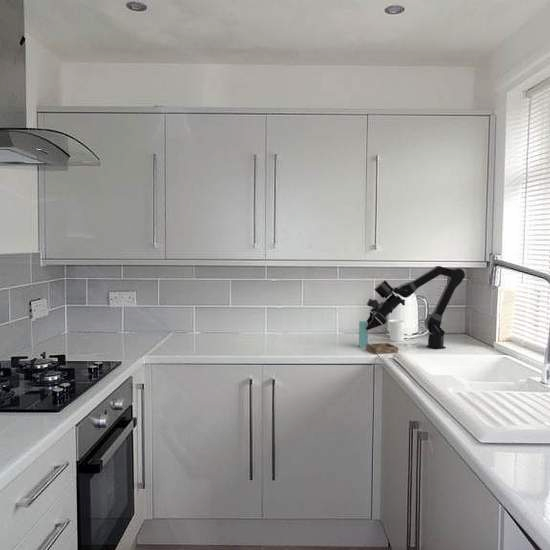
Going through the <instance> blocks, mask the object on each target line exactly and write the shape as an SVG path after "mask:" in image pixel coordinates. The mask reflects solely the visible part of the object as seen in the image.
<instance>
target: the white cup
mask: <svg viewBox="0 0 550 550" xmlns="http://www.w3.org/2000/svg"><path fill="white" fill-rule="evenodd" d="M405 326H406V321H405V320H403V319H390V320H388V330H389V331H388V332H389V341H391V342H395V343H396V342H398V343H401V342H403V341H404V338H405V330H406V328H405Z"/></svg>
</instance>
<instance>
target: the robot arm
mask: <svg viewBox="0 0 550 550" xmlns="http://www.w3.org/2000/svg"><path fill="white" fill-rule="evenodd" d="M439 276H446V277H447V280H446V285H445V287H444V289H443V291H442V293H441V295H440V297H439V300H438V301H437V303H436V305H435V308H434V310H433V311H432V312H431V313H427V314H426V318H425V319H424V320H423V321H424V328H425V329H426V330H427V331H428V332H429V334H428V337H427V338H428V339H427V341H428V342H427V345H426V347H427V348H430V349H433V350H439V349H446V348H447V347H446V346H444V341H445V340H444V337H445V333H446V331H444V330H443V328H442V327H441V325H442V320H443V314H444V313H445V311H446V310H447V308H448V304H449V303H450V300H451V299H452V296H453V295H454V292H455V291H456V288H457V287H459V285H460V284H461V283H462V281H463V280H464V278H465V277H466V274H465V271H464V269H462V268H457V267H453V268H448V267H443V266H440V265H435V267H433V268H431V269H430V270H428V271H427V272H425V273H423V274H422V275H420V276H418V277H417V278H415V279H413V280H410V281H408V282H405V283H403V284H400V285H399V286H397V287H392V286H391V285H390V284H389V283H388V282H387V280H383V281H382V282H380V283H379V284H377V285H376V287H375V288H374V291H375V292H376V293H377V295H379V296H380V297H381V298H382V299H384V298H385V300H384V301H381V302H379V300H376V299H375V298H374V299H372V298H368V301H367V302H366V305H367V306H368V307H371V308H370V310H369V316H368V317H367V320H366V321H367V322H368V326H367V327H366V330H368V331H369V330H372V329H375V328H377V327H382V326H384V325H385V324H386V323H387V321H388V320H387V316H389V315H390V314H392V313H393V311H394V310H395V309H396V308H397V307H398V306H399V305H400V304H401V305H402V306H405V304H406V300H405V299H403V298H409V297H411V295H413V294H414V293H415V292H416V291H417V290H418V289H419V288H421V287H422V286H424V285H426V284H427V283H428V282H431V281H432V280H434V279H435V278H437V277H439ZM395 294H397V295H395ZM401 297H402V298H401Z"/></svg>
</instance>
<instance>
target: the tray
mask: <svg viewBox="0 0 550 550" xmlns="http://www.w3.org/2000/svg"><path fill="white" fill-rule="evenodd" d="M365 350H366V351H369V352H370V353H373V354H374V355H380V354H381V355H385V354H398V353H399V347H398V346H397V345H394V344H391V343H389V342H384V343H381V342H380V343H368V344H366V348H365Z"/></svg>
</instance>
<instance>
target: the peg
mask: <svg viewBox="0 0 550 550" xmlns="http://www.w3.org/2000/svg"><path fill="white" fill-rule="evenodd" d="M358 323H359V325H358V331H359V332H358V336H359V337H358V340H359V341H358V343H359V344H358V345H359V348H361V349H366V344H369V338H368V337H369V330H366V327H367V326H368V322H367V320H359V322H358Z"/></svg>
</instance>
